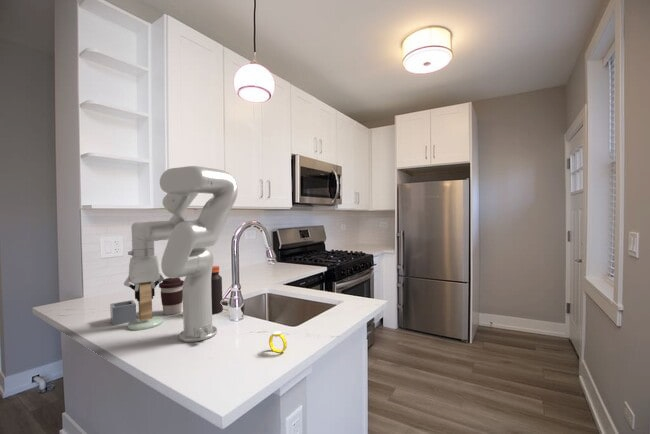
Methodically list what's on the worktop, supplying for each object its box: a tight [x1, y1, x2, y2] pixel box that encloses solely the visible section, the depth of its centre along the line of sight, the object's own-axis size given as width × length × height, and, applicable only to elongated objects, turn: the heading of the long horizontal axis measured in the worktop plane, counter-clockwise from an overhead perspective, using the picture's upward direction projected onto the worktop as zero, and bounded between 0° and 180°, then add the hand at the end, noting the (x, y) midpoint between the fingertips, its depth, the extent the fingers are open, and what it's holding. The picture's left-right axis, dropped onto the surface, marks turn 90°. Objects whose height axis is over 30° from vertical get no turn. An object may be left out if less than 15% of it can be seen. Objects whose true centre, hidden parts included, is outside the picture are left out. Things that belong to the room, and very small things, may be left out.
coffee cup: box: [158, 277, 184, 316], centre depth 136 cm, size 10×10×15 cm
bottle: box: [211, 265, 224, 315], centre depth 135 cm, size 7×7×20 cm
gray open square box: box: [109, 299, 137, 326], centre depth 127 cm, size 8×8×7 cm
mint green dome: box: [127, 315, 164, 331], centre depth 121 cm, size 12×12×1 cm
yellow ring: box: [268, 330, 288, 354], centre depth 95 cm, size 6×3×6 cm, turn 61°
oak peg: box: [137, 282, 153, 321], centre depth 121 cm, size 4×4×14 cm
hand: (145, 298), depth 121 cm, fingers closed on oak peg, 3 cm apart
